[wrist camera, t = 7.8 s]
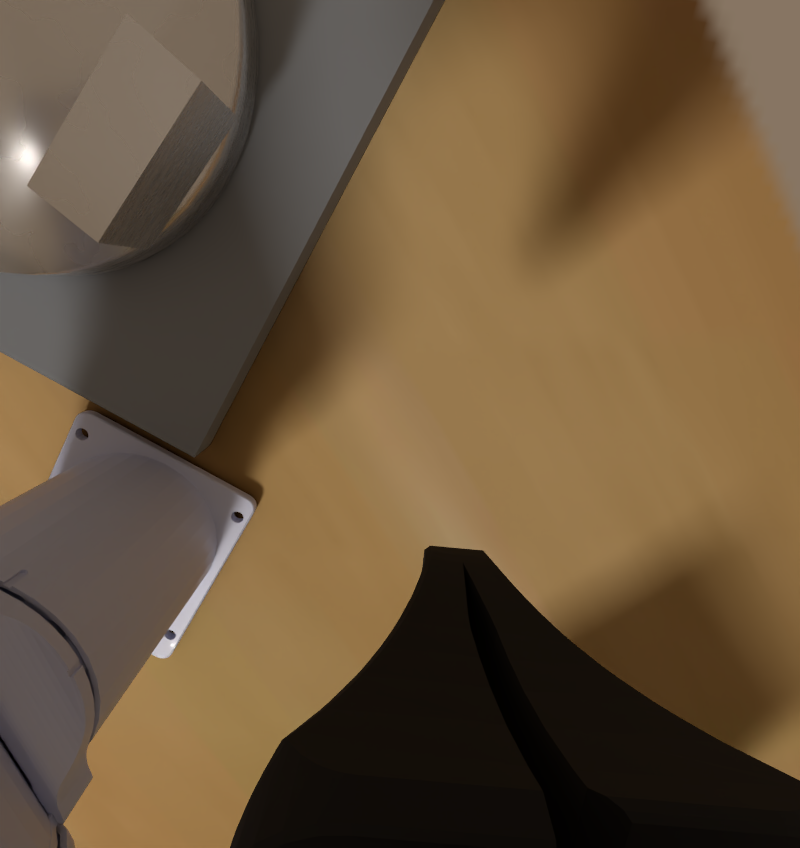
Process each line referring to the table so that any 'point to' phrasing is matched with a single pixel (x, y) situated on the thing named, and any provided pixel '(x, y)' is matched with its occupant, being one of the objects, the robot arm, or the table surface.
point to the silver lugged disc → (117, 125)
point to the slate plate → (227, 231)
